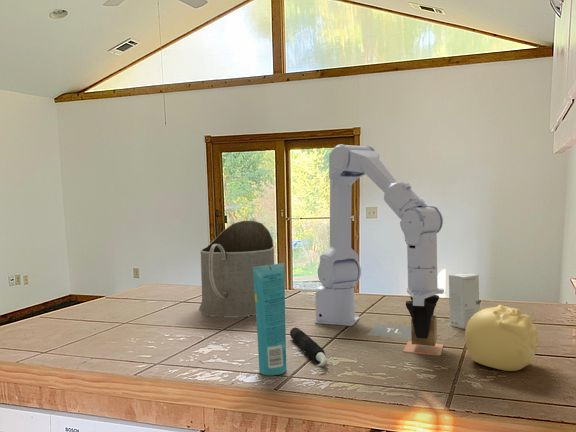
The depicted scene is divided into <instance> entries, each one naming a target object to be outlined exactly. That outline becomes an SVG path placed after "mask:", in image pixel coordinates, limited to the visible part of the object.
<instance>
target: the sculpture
mask: <svg viewBox="0 0 576 432" xmlns="http://www.w3.org/2000/svg"><path fill="white" fill-rule="evenodd" d="M532 319H533V318H532V317H531V316H530V315H528V314H524V313H523V312H522V311H521V310H520V309H519V308H516V307H510V306H507V305H503V304H498V305H497V306H493V307H486V308H482V309H481V310H480V309H479V311H478V312H477V313H475V314H474V315H473V316H472V317H471V318H470V320H469V322H468V324H467V327H466V329H465V332H464V341H465V346H466V347H465V348H466V350H467V352H468V354H469V355H468V356H469V357H470V358H471V359H472V360H473V361H474V362H475V363H477V364H480V365H483V366H486V367H489V368H492V369H497V370H501V371H505V372H506V371H507V372H517V371H520V370H521V369H524V368H525V367H527V366H530V365H531V363H532V361H534V359H535V356H536V354H537V353H538V351H539V350H538V347H537V346H538V344H539V336H538V330H537V326H536V324H534V323H533V320H532Z"/></svg>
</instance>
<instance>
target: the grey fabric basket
mask: <svg viewBox="0 0 576 432" xmlns="http://www.w3.org/2000/svg"><path fill="white" fill-rule="evenodd" d="M274 246H275V245H274V239H273V237H272V234H271V232H270V230H269V228H268V227H266V225H264V224H263V223H262V222H259V221H257V220H241V221H237V222H234V223H232V224H231V225H229V226H228V227H226V228H225V229H223V231H222V232H220V233H219V234H218V235H217V236H216V237H215V238H214V239H213V241H211V242H210V243H209V244H208V245H207V246H206V247H204V248H202V249H200V274H201V303H200V305H199V308H198V311H200V312H201V313H200V312H199V313H200V314H202V313H204V314H203V315H205V314H206V315H205V316H208V315H212V316H211V317H215V316H224V317H223V318H239V317H238V316H248V317H251V316H250V315H256V306H255V292H254V279H253V267H257V266H267V265H274V264H275V247H274Z"/></svg>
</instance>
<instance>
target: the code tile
mask: <svg viewBox="0 0 576 432" xmlns="http://www.w3.org/2000/svg"><path fill="white" fill-rule="evenodd" d="M366 335H367V336H371V337H372V336H375V337H383V338H384V337H385V338H386V337H387V338H398V339H408V340H410V339H411V340H412V338H411V325H409V326H407V325H397V324H394V325H393V324H381V323H375V324H374V326H373V327H372V328H371V329H370V331H369V332H368V333H367V334H366Z"/></svg>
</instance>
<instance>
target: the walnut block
mask: <svg viewBox="0 0 576 432" xmlns="http://www.w3.org/2000/svg"><path fill="white" fill-rule="evenodd" d="M410 321H411V322H410V326H411V338H412V339H411V341H412V344H415V345H426V346H435V344H437V340H438V336H437V335H438V334H437V333H438V332H437V315H434V314H433V315H432V316H431V321H430V328H429V334H428V337H427V339H426V338H417V337H416V334H415V330H414V325H413V321H412V318H411V319H410Z"/></svg>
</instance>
